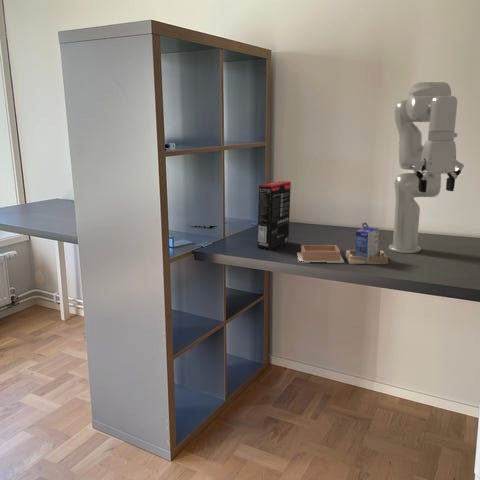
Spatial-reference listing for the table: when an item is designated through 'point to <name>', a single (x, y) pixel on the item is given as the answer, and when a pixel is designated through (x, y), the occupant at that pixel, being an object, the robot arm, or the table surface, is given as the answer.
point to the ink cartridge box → (367, 242)
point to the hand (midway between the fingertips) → (436, 191)
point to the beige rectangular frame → (353, 259)
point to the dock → (320, 254)
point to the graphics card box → (273, 214)
